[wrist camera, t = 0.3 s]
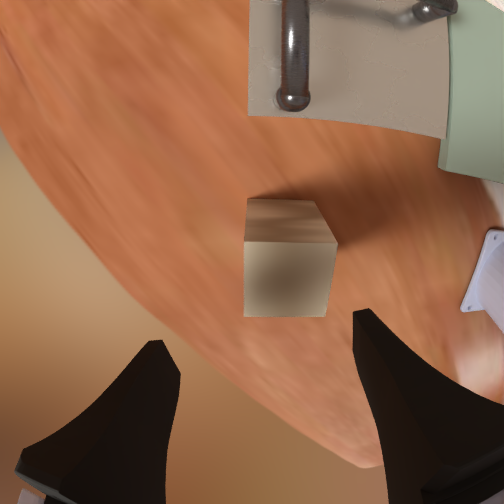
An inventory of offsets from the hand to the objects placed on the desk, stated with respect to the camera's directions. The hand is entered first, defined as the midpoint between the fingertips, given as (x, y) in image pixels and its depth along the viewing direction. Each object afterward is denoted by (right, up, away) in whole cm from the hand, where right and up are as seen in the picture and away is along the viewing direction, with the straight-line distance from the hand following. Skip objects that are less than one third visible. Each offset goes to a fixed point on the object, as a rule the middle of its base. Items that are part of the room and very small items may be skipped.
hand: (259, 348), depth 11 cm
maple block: (+1, +5, +8) cm, 10 cm away
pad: (+16, +15, +2) cm, 22 cm away
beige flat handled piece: (+6, +15, +3) cm, 16 cm away
